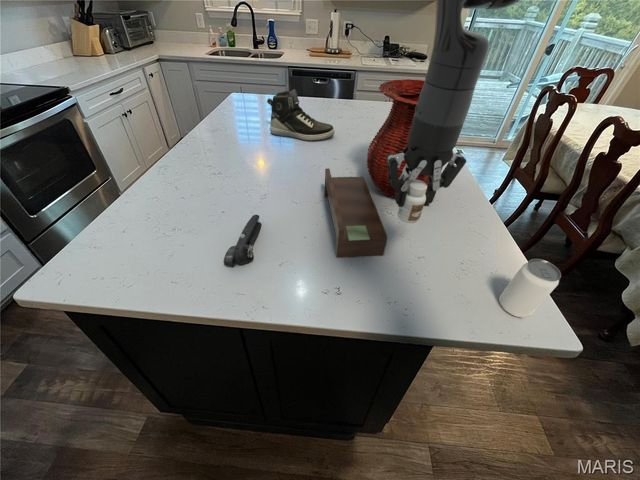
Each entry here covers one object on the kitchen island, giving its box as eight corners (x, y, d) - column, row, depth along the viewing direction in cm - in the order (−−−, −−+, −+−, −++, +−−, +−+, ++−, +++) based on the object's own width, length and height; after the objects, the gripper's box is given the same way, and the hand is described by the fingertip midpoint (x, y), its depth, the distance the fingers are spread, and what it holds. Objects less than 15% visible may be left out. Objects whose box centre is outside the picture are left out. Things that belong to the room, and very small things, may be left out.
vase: (358, 168, 106) (371, 76, 86) (422, 170, 107) (450, 79, 87) (366, 207, 89) (384, 103, 69) (443, 208, 90) (483, 106, 69)
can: (522, 294, 67) (552, 257, 58) (536, 319, 62) (571, 283, 54) (493, 293, 67) (519, 256, 58) (505, 318, 62) (536, 281, 54)
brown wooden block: (383, 257, 74) (390, 229, 68) (336, 259, 73) (339, 231, 67) (361, 193, 95) (364, 167, 88) (324, 194, 94) (325, 168, 87)
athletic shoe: (274, 129, 132) (270, 85, 120) (335, 134, 128) (337, 89, 116) (266, 138, 124) (261, 91, 113) (331, 143, 120) (333, 96, 109)
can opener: (249, 273, 69) (246, 256, 65) (221, 268, 69) (216, 251, 66) (271, 225, 82) (269, 209, 78) (247, 222, 82) (244, 205, 79)
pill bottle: (412, 227, 57) (423, 193, 52) (393, 217, 59) (401, 184, 54) (423, 217, 60) (434, 184, 54) (404, 207, 62) (413, 175, 56)
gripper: (402, 124, 42) (380, 217, 54) (495, 124, 43) (455, 215, 55) (388, 105, 48) (372, 194, 59) (472, 106, 49) (439, 192, 61)
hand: (412, 203), depth 57 cm, fingers closed on pill bottle, 4 cm apart
